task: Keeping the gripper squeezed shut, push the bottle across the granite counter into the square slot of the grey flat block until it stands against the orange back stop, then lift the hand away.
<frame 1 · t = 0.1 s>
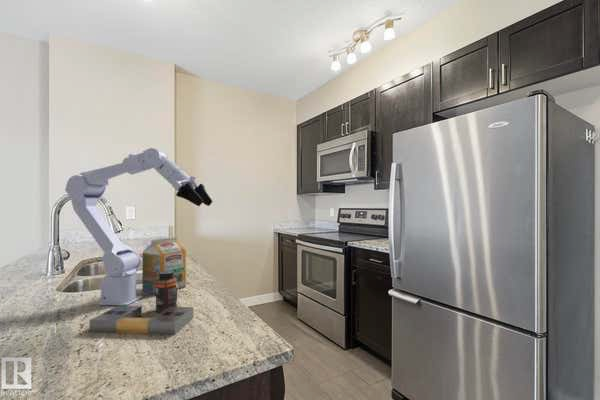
hand: (206, 203, 92), 32 cm above the countertop, tool tilted 50°, fingers open, 7 cm apart
grey flat block: (144, 324, 75), on the countertop
supplement bottle: (166, 310, 86), on the countertop
food carton: (164, 289, 106), on the countertop
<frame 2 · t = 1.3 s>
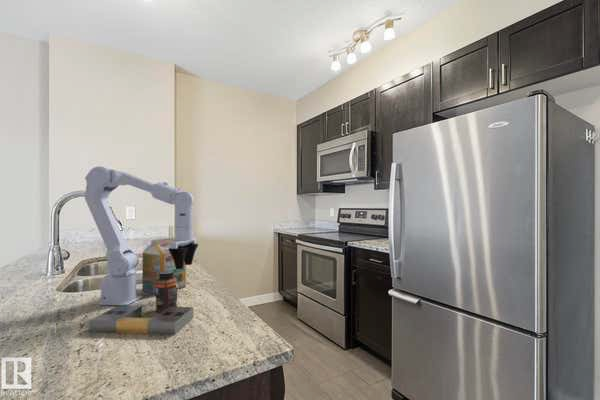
hand: (184, 266, 97), 10 cm above the countertop, tool pointing down, fingers open, 6 cm apart
nothing on the countertop moved.
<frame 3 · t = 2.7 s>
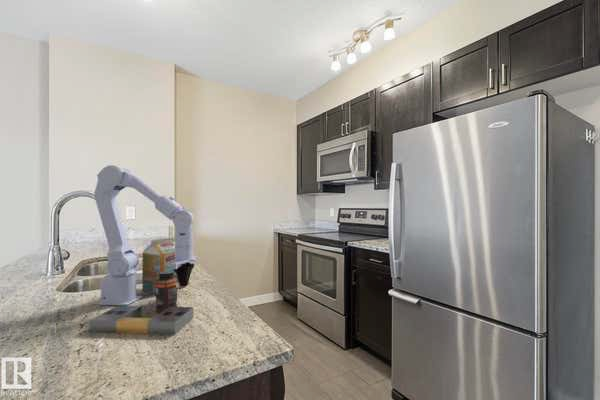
hand: (183, 285, 97), 4 cm above the countertop, tool pointing down, fingers closed
nothing on the countertop moved.
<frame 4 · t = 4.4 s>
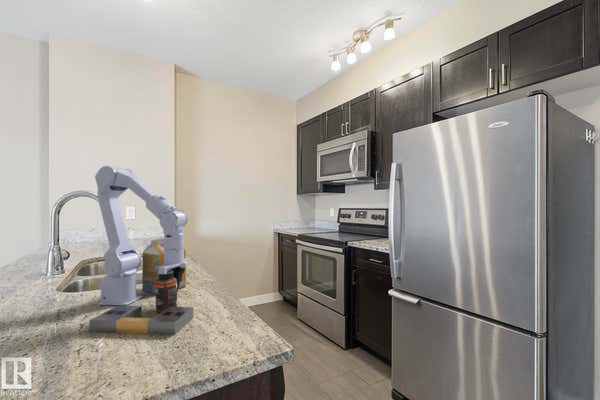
hand: (174, 291, 90), 4 cm above the countertop, tool pointing down, fingers closed
supplement bottle: (166, 309, 86), on the countertop, touching gripper
everything else where it was.
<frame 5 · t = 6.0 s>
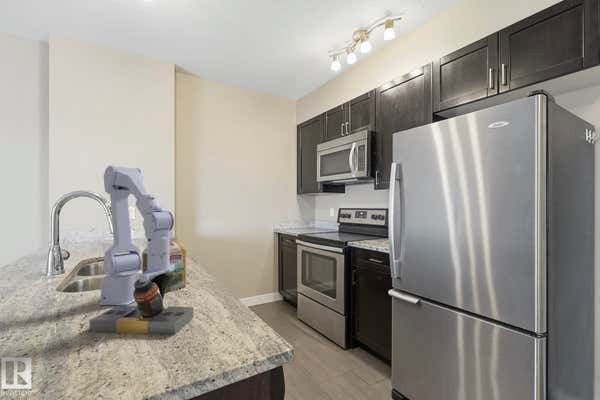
hand: (158, 301, 81), 4 cm above the countertop, tool pointing down, fingers closed, pressing on supplement bottle
supplement bottle: (154, 313, 79), point 1 cm above the countertop, touching gripper
everything else where it was.
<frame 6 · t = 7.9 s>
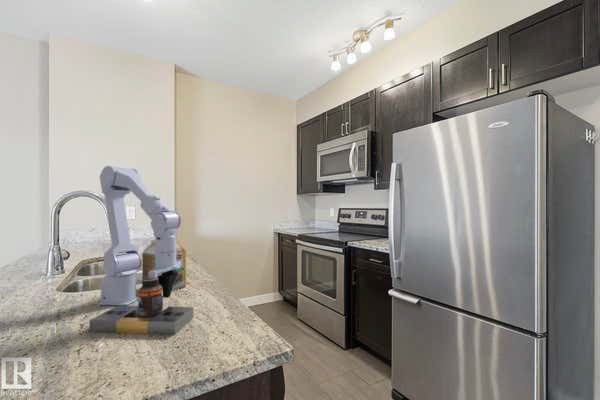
hand: (165, 296, 85), 4 cm above the countertop, tool pointing down, fingers closed
supplement bottle: (150, 321, 77), on the countertop
everything else where it was.
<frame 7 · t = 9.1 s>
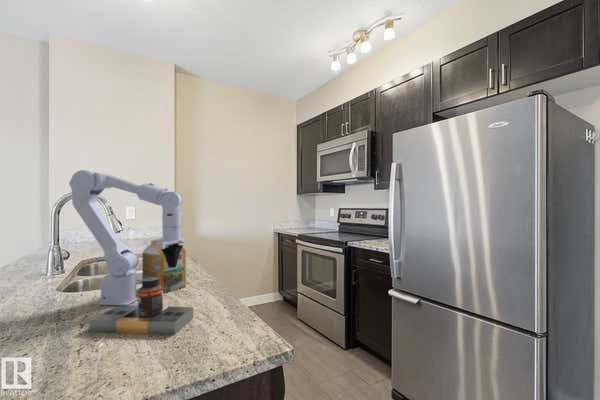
hand: (172, 267, 96), 10 cm above the countertop, tool pointing down, fingers closed
nothing on the countertop moved.
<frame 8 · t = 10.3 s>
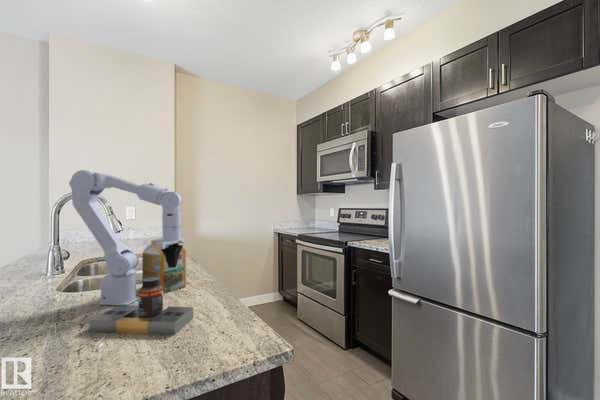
hand: (172, 267, 96), 10 cm above the countertop, tool pointing down, fingers closed
nothing on the countertop moved.
at the end: supplement bottle 1.2 cm from the target spot on the grey flat block, point 0.0 cm above the grey flat block's base; supplement bottle tilted 0°; supplement bottle touching countertop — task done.
